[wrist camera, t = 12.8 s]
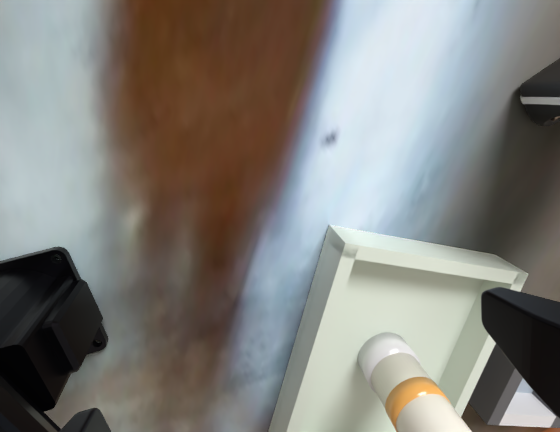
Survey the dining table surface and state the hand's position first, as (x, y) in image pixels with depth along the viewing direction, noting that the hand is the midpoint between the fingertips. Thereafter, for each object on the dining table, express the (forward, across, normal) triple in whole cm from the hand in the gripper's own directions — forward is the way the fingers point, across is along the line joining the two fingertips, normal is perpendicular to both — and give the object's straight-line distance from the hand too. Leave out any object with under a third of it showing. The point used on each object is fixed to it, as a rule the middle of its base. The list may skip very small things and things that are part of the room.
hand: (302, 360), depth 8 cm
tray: (+13, -6, +12) cm, 19 cm away
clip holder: (+13, -16, +18) cm, 27 cm away
